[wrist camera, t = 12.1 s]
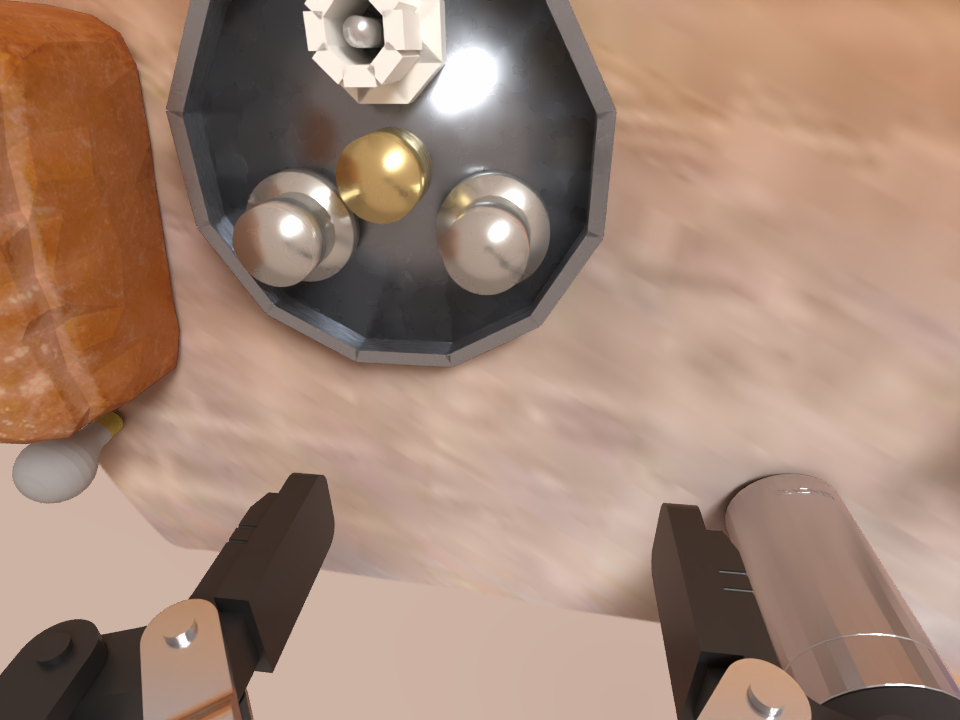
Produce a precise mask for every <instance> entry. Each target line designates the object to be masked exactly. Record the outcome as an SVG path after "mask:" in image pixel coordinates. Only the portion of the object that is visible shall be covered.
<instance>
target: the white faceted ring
mask: <svg viewBox="0 0 960 720" xmlns="http://www.w3.org/2000/svg"><path fill="white" fill-rule="evenodd" d="M304 4H305V5H306V6H307V7H308V8H309V9H310V10H311V11H303V16H304V23H305V30H306V37H307V44H308V51H317V52H316V53H315V54H314V56H313V57H312V59H313V60H314V61H315V62H316V63H317V64H318V65H319V66H320V67H321V68H322V69H323V70H324V71H325V72H326V73H327V74H328V75H329V76H330V77H331V78H332V79H333V80H334V81H335V82H336V83H337V84H340V85H341V86H342V87H343V88H344V89H345V90H346V91H347V92H348V93H349V94H350V95H351V96H352V97H353V98H354V99H355V100H356V101H357V102H358V103H359V104H409V103H412V102H414V101H415V100H416V98H417V97H418V96H419V95H420V94H421V92H422V91H423V90H424V89H425V88H426V86H427V85H428V84H429V83H430V81H431V80H432V79H433V78H434V77H435V75H436V74H437V73H438V72H439V71H440V69H441V68H442V67H443V66H444V65H445V63H446V62H447V58H446V28H445V1H444V0H306V2H305V3H304ZM370 4H372V5H373V6H374V7H375V8H376V9H377V10H378V11H379V12H380V13H381V14H382V16H383V28H384V40H385V45H384V47H383V48H382V49H381V51H380V52H379V53H378V55H377V56H376V57H375V59H373V58H372V57H371V56H370V55H369V54H368V53H367V52H366V51H365V50H364V49H363V48H356V47H353V46H351V45H349V44H348V43H347V41H346V40H345V38H344V35H343V25H344V22H345V20H346V19H347V18H348V17H350V16H353V15H357V16H362V15H363V14H364V12H365V11H366V9H367V8H368V7H369V5H370Z"/></svg>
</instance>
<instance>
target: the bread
mask: <svg viewBox="0 0 960 720" xmlns="http://www.w3.org/2000/svg"><path fill="white" fill-rule="evenodd" d="M178 342H179V327H178V322H177V317H176V312H175V307H174V302H173V296H172V290H171V283H170V277H169V271H168V264H167V258H166V251H165V245H164V238H163V232H162V225H161V218H160V212H159V205H158V199H157V192H156V186H155V179H154V172H153V164H152V156H151V148H150V141H149V135H148V129H147V123H146V118H145V112H144V106H143V101H142V95H141V89H140V84H139V78H138V72H137V67H136V64H135V62H134V60H133V58H132V56H131V54H130V52H129V50H128V48H127V46H126V44H125V42H124V40H123V38H122V36H121V34H120V33H119V32H118V31H116V30H115V29H113V28H112V27H110V26H109V25H107V24H105V23H104V22H102V21H101V20H99V19H98V18H96V17H94V16H93V15H90V14H86V13H81V12H77V11H73V10H68V9H64V8H60V7H55V6H51V5H46V4H36V3H27V2H18V1H8V0H0V443H11V444H30V443H37V442H43V441H49V440H56V439H62V438H68V437H71V436H72V435H73V434H74V433H76V432H77V431H78V430H79V429H81V428H82V427H83V426H84V425H86V424H87V423H89V422H91V421H93V420H95V419H97V418H99V417H101V416H103V415H105V414H107V413H109V412H111V411H113V410H115V409H117V408H119V407H121V406H123V405H125V404H127V403H129V402H130V401H131V400H133V399H134V398H135V397H137V396H138V395H139V394H141V393H142V392H143V391H145V390H146V389H147V388H148V387H150V386H151V385H152V384H154V383H155V382H156V381H158V380H159V379H160V378H162V377H163V376H164V375H166V374H167V373H168V372H170V371H171V370H172V369H174V368H175V367H176V364H177V355H178Z"/></svg>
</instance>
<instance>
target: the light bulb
mask: <svg viewBox="0 0 960 720" xmlns="http://www.w3.org/2000/svg"><path fill="white" fill-rule="evenodd" d="M123 425H124V423H123V420H122V418H121V417H120V416H119V415H118V414H116V413H114V412H109V413H107V414H105V415H103V416H101V417H99V418H97V419H96V420H95V421H94V422H92V423H89V424H88V425H87V426H85V427H84V428H83V429H81V430H79V431H77V432H76V433H74V434H73V435H72V436H71V437H68V438H62V439H56V440H49V441H43V442H37V443H31V444H30V445H28V446H27V447H26V448H25V449H23V450H22V451H21V453H20V454H19V456H18V457H17V459H16V461H15V463H14V466H13V474H12V477H13V481H14V484H15V486H16V487H17V489H18V490H19V491H20V492H21V493H22V494H23V495H24V496H26V497H27V498H29V499H31V500H34V501H37V502H40V503H59V502H62V501H66V500H69V499H71V498H73V497H75V496H77V495H79V494H80V493H81V492H83V490H85V489H86V488H87V487H88V486H89V485H90V483H91V482H92V480H93V479H94V477H95V475H96V471H97V468H98V463H99V457H100V453H101V449H102V448H103V447H104V446H105V445H106V444H107V443H108V442H109V441H110V440H111V438H112V437H113V436H114V435H115V434H116V433H117V432H118V431H120V430H121V429H122V428H123Z"/></svg>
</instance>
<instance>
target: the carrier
mask: <svg viewBox="0 0 960 720" xmlns="http://www.w3.org/2000/svg"><path fill="white" fill-rule="evenodd" d="M444 1H445V28H446V58H447V62H446V63H445V65H444V66H443V67H442V68H441V69H440V71H439V72H438V73H437V74H436V75H435V77H434V78H433V79H432V80H431V81H430V83H429V84H428V85H427V86H426V88H425V89H424V90H423V91H422V92H421V94H420V95H419V96H418V97H417V98H416V100H415V101H414V102H412V103H409V104H359V103H358V102H357V101H356V100H355V99H354V98H353V97H352V96H351V95H350V94H349V93H348V92H347V91H346V90H345V89H344V88H343V87H342V86H341V85H340V84H337V83H336V82H335V81H334V80H333V79H332V78H331V77H330V76H329V75H328V74H327V73H326V72H325V71H324V70H323V69H322V68H321V67H320V66H319V65H318V64H317V63H316V62H315V61H314V60H313V59H312V57H313V56H314V54H315V53H316V52H317V51H308V44H307V37H306V30H305V23H304V16H303V11H311V10H310V9H309V8H308V7H307V6H306V5H305V4H304V3H305V2H306V0H190V5H189V9H188V13H187V18H186V22H185V27H184V31H183V36H182V40H181V44H180V49H179V53H178V58H177V62H176V67H175V71H174V75H173V80H172V84H171V89H170V93H169V98H168V102H167V106H166V109H167V110H169V111H166V113H167V117H168V121H169V124H170V128H171V132H172V136H173V139H174V143H175V147H176V151H177V155H178V158H179V162H180V166H181V170H182V173H183V177H184V181H185V185H186V189H187V192H188V196H189V200H190V204H191V207H192V211H193V215H194V219H195V223H196V226H200V227H198V229H199V231H200V232H201V233H202V234H203V236H204V237H205V238H206V239H207V241H208V242H209V243H210V244H211V246H212V247H213V248H214V249H215V251H216V252H217V253H218V254H219V256H220V257H221V258H222V259H223V261H224V262H225V263H226V264H227V266H228V267H229V268H230V269H231V271H232V272H233V273H234V274H235V276H236V277H237V278H238V279H239V281H240V282H241V283H242V284H243V286H244V287H245V288H246V289H247V291H248V292H249V293H250V294H251V296H252V297H253V298H254V299H255V301H256V302H257V303H258V304H259V306H260V307H261V308H262V309H263V311H264V312H265V313H267V312H268V313H267V315H269V316H271V317H273V318H275V319H276V320H278V321H280V322H282V323H284V324H286V325H288V326H290V327H291V328H293V329H295V330H297V331H299V332H301V333H303V334H304V335H306V336H308V337H310V338H312V339H314V340H316V341H318V342H319V343H321V344H323V345H325V346H327V347H329V348H331V349H333V350H334V351H336V352H338V353H340V354H342V355H344V356H346V357H347V358H349V359H351V360H353V361H356V360H357V362H365V363H384V364H402V365H421V366H439V367H451V366H452V367H453V366H456V365H458V364H460V363H462V362H464V361H466V360H469V359H471V358H473V357H475V356H477V355H479V354H482V353H484V352H486V351H488V350H490V349H492V348H495V347H497V346H499V345H501V344H503V343H506V342H508V341H510V340H512V339H514V338H516V337H519V336H521V335H523V334H525V333H527V332H529V331H532V330H534V329H536V328H538V327H540V325H542V324H543V322H544V321H545V319H546V318H547V317H548V315H549V314H550V312H551V311H552V310H553V308H554V307H555V305H556V304H557V303H558V301H559V300H560V298H561V297H562V296H563V294H564V293H565V291H566V290H567V289H568V287H569V286H570V284H571V283H572V282H573V280H574V279H575V277H576V276H577V275H578V273H579V272H580V270H581V269H582V268H583V266H584V265H585V263H586V262H587V261H588V259H589V258H590V256H591V255H592V254H593V252H594V251H595V249H596V248H597V247H598V245H599V244H600V242H601V241H602V240H603V237H604V228H605V219H606V209H607V199H608V189H609V180H610V170H611V160H612V150H613V141H614V131H615V121H616V111H615V110H616V108H615V106H614V104H613V101H612V99H611V97H610V95H609V92H608V90H607V88H606V85H605V83H604V81H603V79H602V76H601V74H600V72H599V69H598V67H597V65H596V62H595V60H594V58H593V56H592V53H591V51H590V49H589V46H588V44H587V42H586V40H585V37H584V35H583V33H582V30H581V28H580V26H579V23H578V21H577V19H576V17H575V14H574V12H573V10H572V7H571V5H570V3H569V1H568V0H444ZM343 35H344V38H345V40H346V41H347V43H348V44H349V45H351V46H353V47H356V48H363V49H364V50H365V51H366V52H367V53H368V54H369V55H370V56H371V57H372V58H373V59H375V57H376V56H377V55H378V53H379V52H380V51H381V49H382V48H383V47H384V45H385V40H384V28H383V16H382V14H381V13H380V12H379V11H378V10H377V9H376V8H375V7H374V6H373V5H372V4H370V5H369V7H368V8H367V9H366V11H365V12H364V14H363V15H362V16H357V15H353V16H350V17H348V18H347V19H346V20H345V22H344V25H343Z"/></svg>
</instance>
